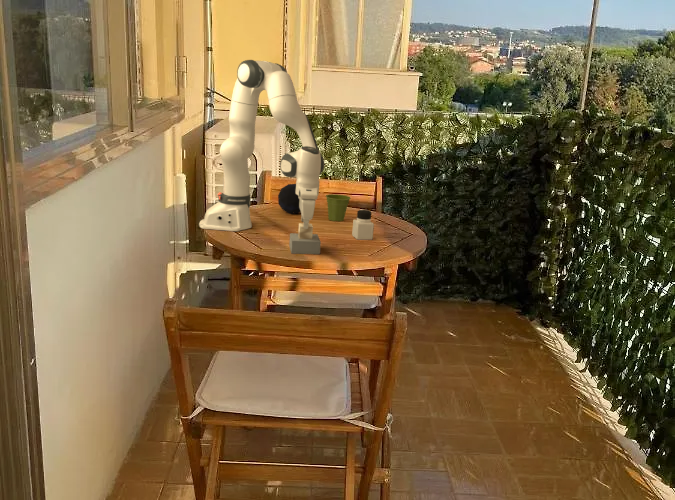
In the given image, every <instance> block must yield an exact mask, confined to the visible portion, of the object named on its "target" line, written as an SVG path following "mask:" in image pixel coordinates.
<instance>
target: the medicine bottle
mask: <svg viewBox="0 0 675 500" xmlns="http://www.w3.org/2000/svg"><path fill="white" fill-rule="evenodd" d="M374 229H375V223H373V222H372V211H370V210H368V209H359V210H357V215H356V219H353V222H352V231H351V232H352V233H351V235H352V237H353V238H355V239H356V240H358V241H359V240H360V241H361V240H362V241H363V240H366V241H367V240H368V241H369V240H370V241H371V240H373V238H374Z"/></svg>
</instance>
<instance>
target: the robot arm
mask: <svg viewBox="0 0 675 500" xmlns="http://www.w3.org/2000/svg"><path fill="white" fill-rule="evenodd" d="M236 77H237V78H236V80H235V84H234V85H233V90H232V94H231V100H230V106H229V114H228V123H229V134H228V135H229V136H228V138H226V139H224V140H223V142H222V143H221V145H220V147H219V155H220V159H221V165H222V170H223V171H222V172H223V173H222V174H223V192H218V193H217V197H218V199H217V200H218V202H216V203H215V204H213V205H212V206H210V207H209V208H207V210H206V212H205V214H204V218H203V219H201V220H200V221H199V223H198V226H199V228H201V229H204V230H205V229H206V230H217V231H228V232H229V231H230V232H239V231H242V230H247V229H251V228H252V227H253V224H252V220H251V212H250V210H251V209H250V207H251V194H250V187H251V185H250V184H251V175H250V173H249V172H250V171H249V164H248V162H249V161H248V160H249V158H250V157H251V156H252V155H253V153H254V151H255V141H256V120H257V114H258V107H259V100H260V99H259V98H260V94H261V93H262V91H266V95H267V99H268V107H269V111H270V113H271V115H272V116H271V117H273V118H274V119H275V120H276V121H277V122H278V123H280V124H283V125H286V126H288V127H289V128H291V129H293V130H294V131H295V132H296V133H297V135H298V136H299V139H300V140H299V141H300V143H301V147H300V148H299V149H298V150H296V151H292V152H288V153H287V152H286V153H285V154H283V155H282V157H281V159H280V162H279V167H280V171H281V173H282V174H283V176H285V177H286V178H287V177H288V178H292V179H293V178H296V181H295V184H296V194H297V195H298V196H299V197H298V198H299V199H300V201H299V208H300V211H301V212H300V213H301V214H300V216H301V217H300V221H301V223H303V228H304V229H308V224H310V221H311V220H312V219H313V218H314V213H315V206H316V201H317V200H318V196H319V194H320V193H319V192H320V176H321V174H322V173H323V171H324V169H325V160H324V157H323V155H322V153H321V152H320V150H319V149H320V148H319V147H318V143H317V140H316V138H315V134H314V131H313V128H312V126H311V125H312V124H311V123H310V121H309V118H308V115H307V114H306V113H305V112H304V111H303V110H302V108H301V107H300V105H299V101H298V98H297V94H296V93H297V92H296V88H295V86H294V85H295V84H294V83H293V80H292V78H291V75H290V74H289V73H288V71H287V69H286V68H285V67H284V66H283V65H281V64H279V63H277V62H276V63H274V62H271V61H267V60H254V59H246V60H243V61H241V63H239V64H238V67H237V70H236Z"/></svg>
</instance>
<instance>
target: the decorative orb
mask: <svg viewBox="0 0 675 500" xmlns="http://www.w3.org/2000/svg"><path fill="white" fill-rule="evenodd" d="M277 197H278V199H277V201H278V205H279V206H280V208H281V209H282V211H283V212H286V213H288V214H290V215H294V214H299V213H301V211H300V208H299V201H300V199H299V198H298V197H299V196H298V195H297V194H296V183H288V184H286V185H285V186H283V187H282V188H281V189H280V190H279V192H278V196H277Z"/></svg>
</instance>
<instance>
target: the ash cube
mask: <svg viewBox="0 0 675 500" xmlns="http://www.w3.org/2000/svg"><path fill="white" fill-rule="evenodd" d="M303 223H304V222H298V232H297V234H298V237H299V239H312V234H314V233H313V231H314V226H313V224H312V223H309V224H308V229H304V228H303Z"/></svg>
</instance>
